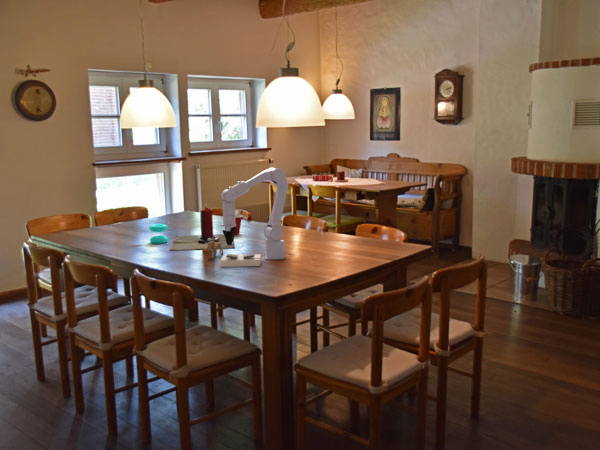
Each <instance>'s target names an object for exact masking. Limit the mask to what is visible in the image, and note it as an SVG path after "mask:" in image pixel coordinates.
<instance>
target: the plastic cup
mask: <svg viewBox="0 0 600 450" xmlns="http://www.w3.org/2000/svg"><path fill="white" fill-rule="evenodd" d="M243 217H244V215H243V214H240V213H239V214H238V213H235V223H236V227H237V228H236V230H235V234H234V236H238V235H240V230H241V225H242V223H241V222H242V220H243Z"/></svg>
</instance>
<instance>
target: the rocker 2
mask: <svg viewBox="0 0 600 450" xmlns="http://www.w3.org/2000/svg"><path fill="white" fill-rule="evenodd" d="M243 255H244V256H243V258H244V259H245V258H248V259H250V258H251V257H254V256H255V253H254V252H253V253H247V254H243Z"/></svg>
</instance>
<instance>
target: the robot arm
mask: <svg viewBox="0 0 600 450" xmlns="http://www.w3.org/2000/svg"><path fill="white" fill-rule="evenodd" d="M265 181H271V182H272V183H273V185H274V186H275V187H276V190H275V195H274V198H273V205H272V208H271V213H270V217H269V220H268V221H267V222H266V223H267V224H266V226H265V227H264V229H263V234H264V236H265V257H264V259H265V261H266V260H285V256H286V250H285V248H286V247H285V239H282V235H283V234H282V233H283V232H282V228H283V226H282V222H281V221H282V216H283V213H284V208H285V204H286V198H287V194H288V190H289V184H288V180H287V174H286V173H285V171H284V170H283V169H282V168H280V167H279V168H278V167H276V168H275V167H274V166H271V167H269V168H267V169H264V170H262V171H261V172H260V173H258V174H256V175H255V176H253V177H251V178H250V179H248V180H247V181H244V180H242V181H241V180H238V181H237V183H236V184H234V185H233V186H228V189H224V190H223V191H222V192H221V194H220V199H221V201H222V220H223V222H222V223H221V224H220V227H223V228H224V229H223V230H222V234H223V235H224V238H225V242H226V243H225V244H226V246H232V244H233V243H234V239H235V235H234V234H235V230H236V228H237V227H236V223H235V214H236V206H235V203H236V202H235V201H236V200H237V198H239V197H241V196H243V195H244V194H246V193H248V192H249V191H250V188H251V187H254V186H256V185H258V184H259V183H261V182H265Z"/></svg>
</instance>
